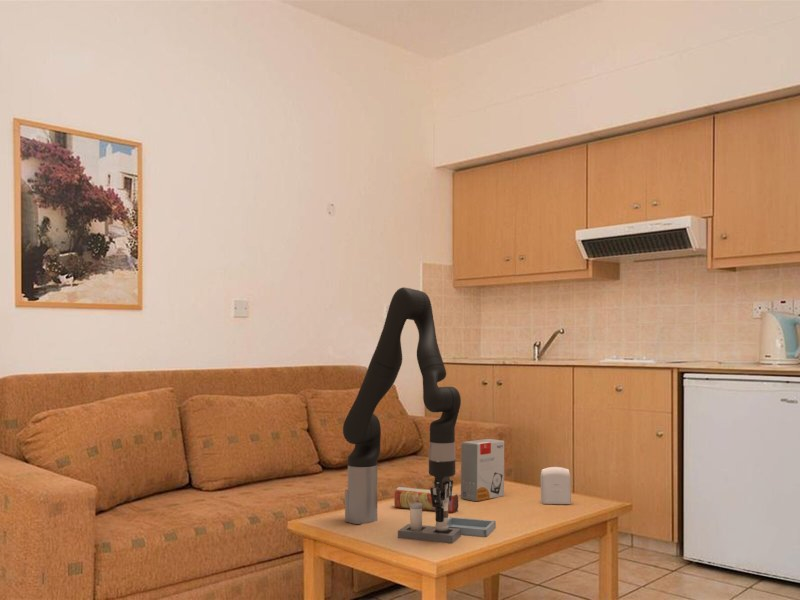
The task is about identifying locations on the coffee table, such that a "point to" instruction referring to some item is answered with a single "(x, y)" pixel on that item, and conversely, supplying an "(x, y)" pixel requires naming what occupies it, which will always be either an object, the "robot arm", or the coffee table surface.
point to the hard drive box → (482, 469)
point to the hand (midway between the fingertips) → (441, 519)
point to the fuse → (416, 516)
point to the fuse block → (430, 534)
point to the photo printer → (555, 486)
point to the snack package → (420, 499)
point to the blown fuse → (444, 525)
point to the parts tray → (472, 526)
